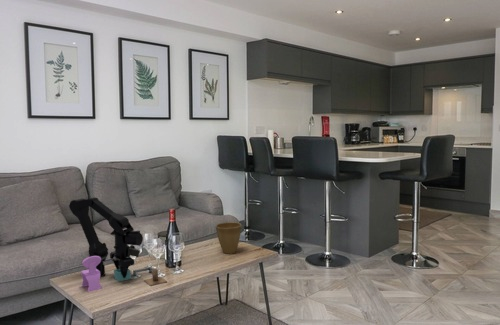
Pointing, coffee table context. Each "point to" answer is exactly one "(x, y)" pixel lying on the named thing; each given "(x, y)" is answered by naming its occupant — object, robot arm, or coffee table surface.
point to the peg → (155, 279)
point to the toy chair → (91, 273)
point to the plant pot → (228, 236)
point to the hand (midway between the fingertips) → (122, 275)
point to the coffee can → (163, 237)
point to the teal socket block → (119, 276)
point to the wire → (143, 270)
